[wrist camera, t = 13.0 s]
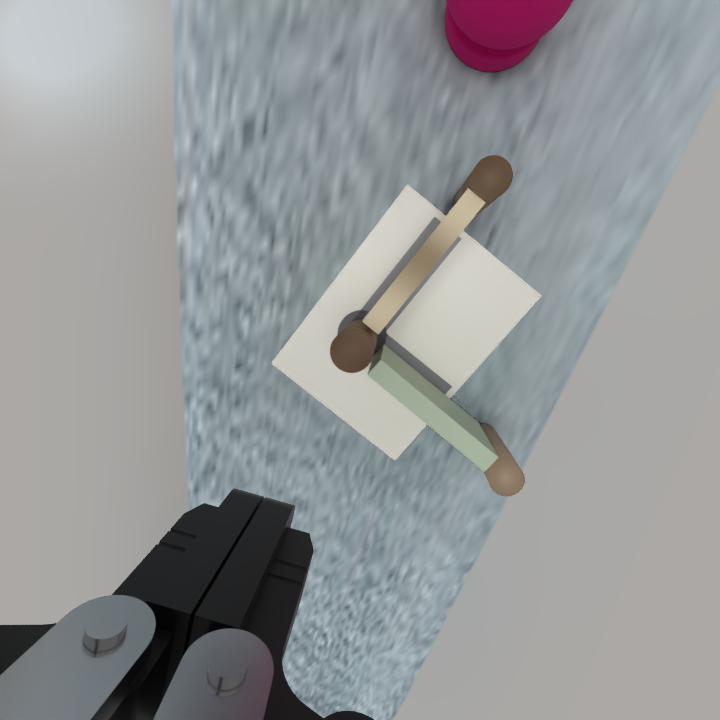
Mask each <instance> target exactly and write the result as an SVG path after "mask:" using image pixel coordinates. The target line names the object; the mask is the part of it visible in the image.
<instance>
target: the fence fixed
mask: <svg viewBox="0 0 720 720" xmlns="http://www.w3.org/2000/svg"><path fill="white" fill-rule="evenodd" d="M512 178H513V172H512V168H511V165H510V164H509V162H508V161H507V160H506V159H504V158H503V157H500V156H495V155H493V156H488V157H485V158H483V159H482V160H481V161H479V163H478V164H477V165H476V166H475V168H474V169H473V171H472V172H471V174H470V175H469V177H468V178H467V179H466V181H465V182H464V184H463V185H462V187H461V188H460V189H459V191H458V192H457V194H456V195H455V197H454V200H453V208H452V209H451V210H450V212H449V213H448V214H447V215H446V217H445V218H444V219H443V220H442V222H441V223H440V224H439V225H438V227H437V228H436V229H435V230H434V232H433V233H432V234H431V235H430V237H429V238H428V239H427V240H426V242H425V243H424V244H423V245H422V247H421V248H420V249H419V250H418V252H417V253H416V254H415V255H414V257H413V258H412V259H411V260H410V262H409V263H408V264H407V265H406V267H405V268H404V269H403V270H402V272H401V273H400V274H399V275H398V277H397V278H396V279H395V281H394V282H393V283H392V284H391V286H390V287H389V288H388V289H387V291H386V292H385V293H384V294H383V296H382V297H381V298H380V299H379V301H378V302H377V303H376V304H375V306H374V307H373V308H372V309H371V311H370V312H369V313H368V314H367V316H366V317H365V318H364V319H356V320H354V321H352V322H351V323H350V324H349V325H348V326H347V327H346V328H345V329H344V330H343V331H341V332H340V333H339V334H338V335H337V336H336V337H335V338H334V340H333V341H332V343H331V347H330V356H331V359H332V361H333V363H334V365H335V366H336V367H337V368H338V369H340V370H342V371H344V372H347V373H357V372H360V371H362V370H364V369H365V368H366V367H367V366H368V365H369V363H370V362H371V359H372V357H373V353H374V350H375V347H376V344H377V341H378V335H379V333H380V332H381V331H382V330H383V328H384V327H385V326H386V325H387V323H388V322H389V321H390V320H391V319H392V317H393V316H394V315H395V314H396V312H397V311H398V310H399V309H400V307H401V306H402V305H403V304H404V303H405V301H406V300H407V299H408V298H409V296H410V295H411V294H412V293H413V292H414V290H415V289H416V288H417V287H418V285H419V284H420V283H421V282H422V280H423V279H424V278H425V277H426V276H427V274H428V273H429V272H430V271H431V269H432V268H433V267H434V266H435V264H436V263H437V262H438V261H439V260H440V258H441V257H442V256H443V255H444V253H445V252H446V251H447V250H448V248H449V247H450V246H451V245H452V244H453V242H454V241H455V240H456V239H457V237H458V236H459V235H460V234H461V232H462V231H463V230H464V229H465V228H466V226H467V225H468V224H469V223H470V221H471V220H472V219H473V218H474V217H475V216H476V215H477V214H478V213H480V212H481V211H482V210H483V209H485V208H486V207H487V206H488V205H489V204H491V203H492V202H493V201H494V200H496V199H497V198H498V197H499V196H501V195H502V194H503V193H504V192H505V191H506V190H507V189H508V188H509V186H510V185H511V182H512Z"/></svg>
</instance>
